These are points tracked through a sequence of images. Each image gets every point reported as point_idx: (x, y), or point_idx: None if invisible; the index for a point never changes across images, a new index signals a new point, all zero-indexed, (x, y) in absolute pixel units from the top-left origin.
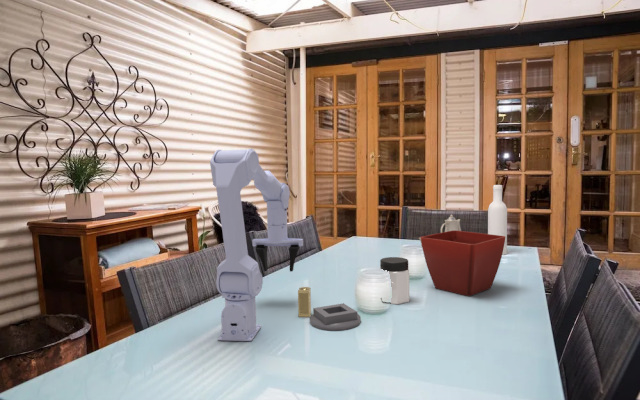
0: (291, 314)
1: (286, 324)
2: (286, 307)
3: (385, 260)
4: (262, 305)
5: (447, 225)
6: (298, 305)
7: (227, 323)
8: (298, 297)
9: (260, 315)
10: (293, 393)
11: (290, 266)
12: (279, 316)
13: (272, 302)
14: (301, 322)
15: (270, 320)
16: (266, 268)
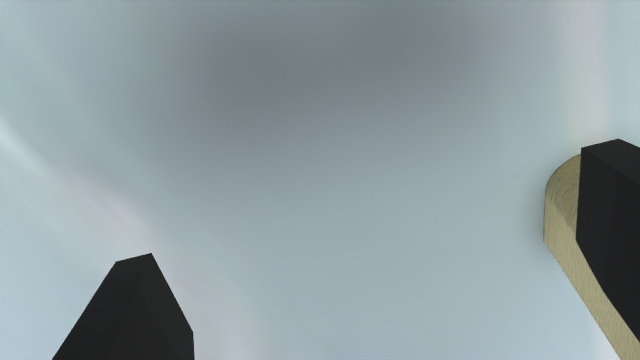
0: (488, 219)
1: (494, 339)
2: (411, 106)
3: None
4: (184, 120)
5: None
6: (580, 295)
7: None
8: (612, 340)
9: (291, 287)
10: None
11: (637, 315)
12: (419, 267)
13: (226, 17)
14: (571, 298)
15: (388, 325)
16: (177, 337)
